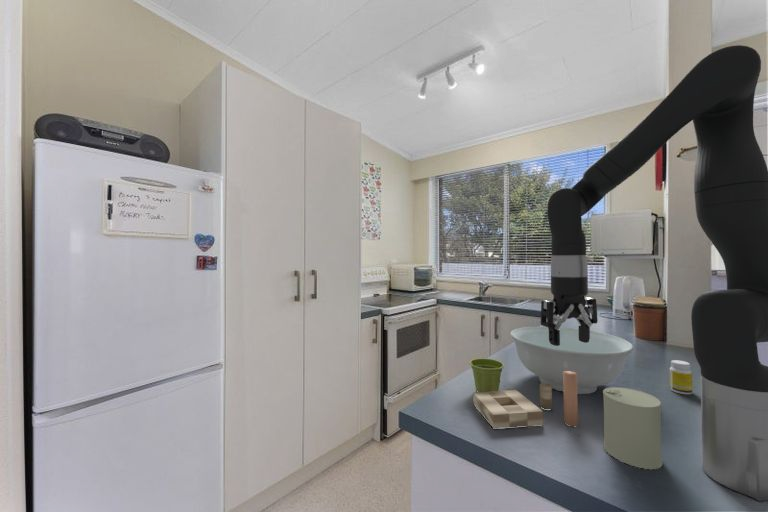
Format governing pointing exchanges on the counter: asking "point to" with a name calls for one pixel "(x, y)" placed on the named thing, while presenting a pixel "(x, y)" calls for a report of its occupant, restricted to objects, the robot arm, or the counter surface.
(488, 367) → the plant pot
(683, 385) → the supplement bottle
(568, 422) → the long dowel
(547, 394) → the short dowel
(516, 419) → the socket block
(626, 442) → the can
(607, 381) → the bowl
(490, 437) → the counter surface
